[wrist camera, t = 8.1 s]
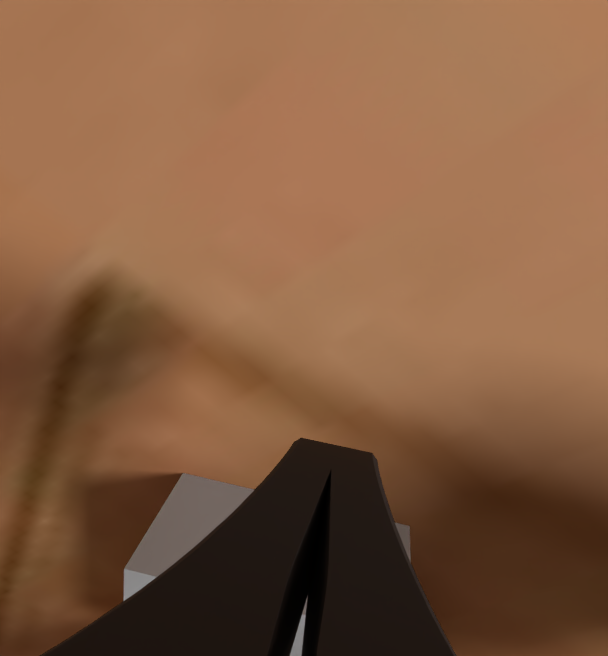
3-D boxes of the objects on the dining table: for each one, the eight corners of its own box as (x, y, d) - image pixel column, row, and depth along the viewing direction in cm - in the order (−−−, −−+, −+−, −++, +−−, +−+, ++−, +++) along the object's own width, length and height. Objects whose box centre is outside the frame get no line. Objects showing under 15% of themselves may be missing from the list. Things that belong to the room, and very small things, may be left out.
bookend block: (409, 522, 18) (412, 642, 14) (374, 642, 20) (368, 777, 16) (185, 469, 19) (124, 568, 14) (176, 591, 21) (121, 707, 17)
